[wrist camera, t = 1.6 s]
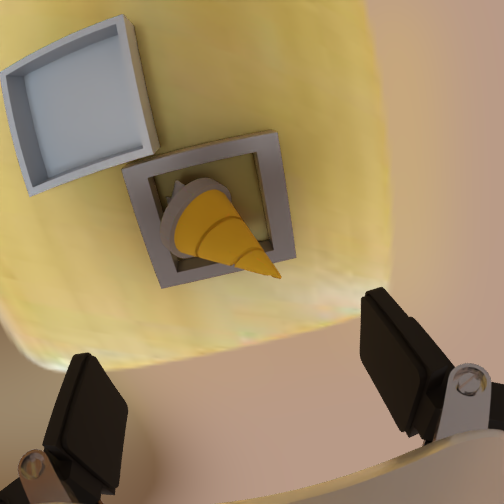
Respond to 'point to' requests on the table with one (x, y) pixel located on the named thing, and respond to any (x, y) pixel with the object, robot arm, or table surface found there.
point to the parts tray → (79, 105)
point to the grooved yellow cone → (211, 228)
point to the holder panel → (258, 143)
